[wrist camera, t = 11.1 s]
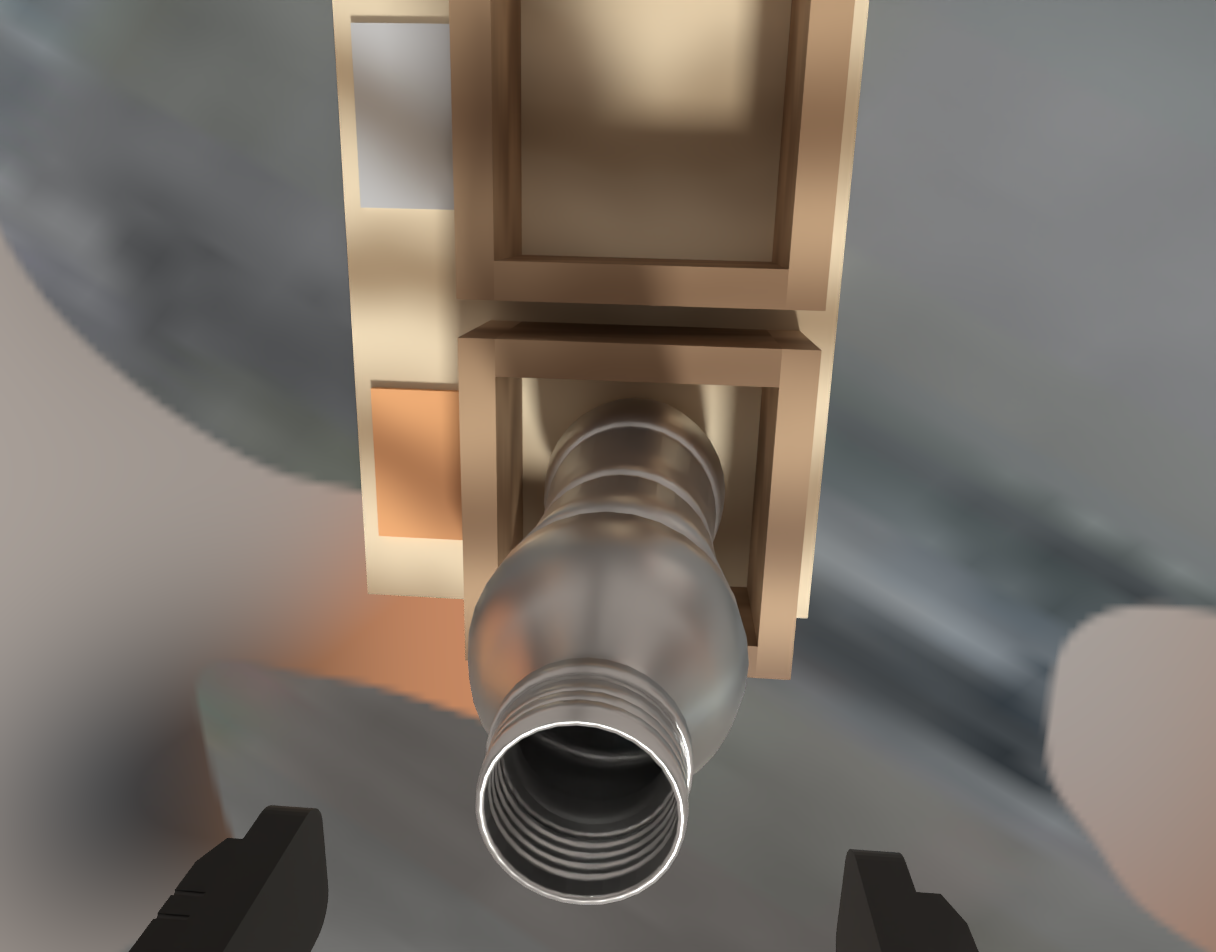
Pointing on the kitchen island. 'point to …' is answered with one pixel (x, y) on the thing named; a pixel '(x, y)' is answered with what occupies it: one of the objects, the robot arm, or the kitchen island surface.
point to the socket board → (593, 265)
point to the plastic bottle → (607, 658)
